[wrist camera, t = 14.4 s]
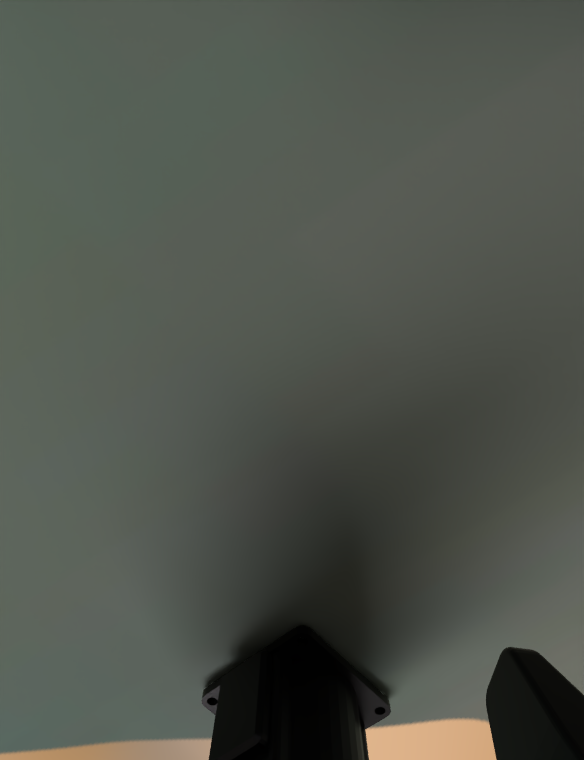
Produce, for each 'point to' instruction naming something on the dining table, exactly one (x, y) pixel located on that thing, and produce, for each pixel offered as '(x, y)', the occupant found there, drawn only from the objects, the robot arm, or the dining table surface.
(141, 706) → the dining table surface
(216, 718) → the robot arm
